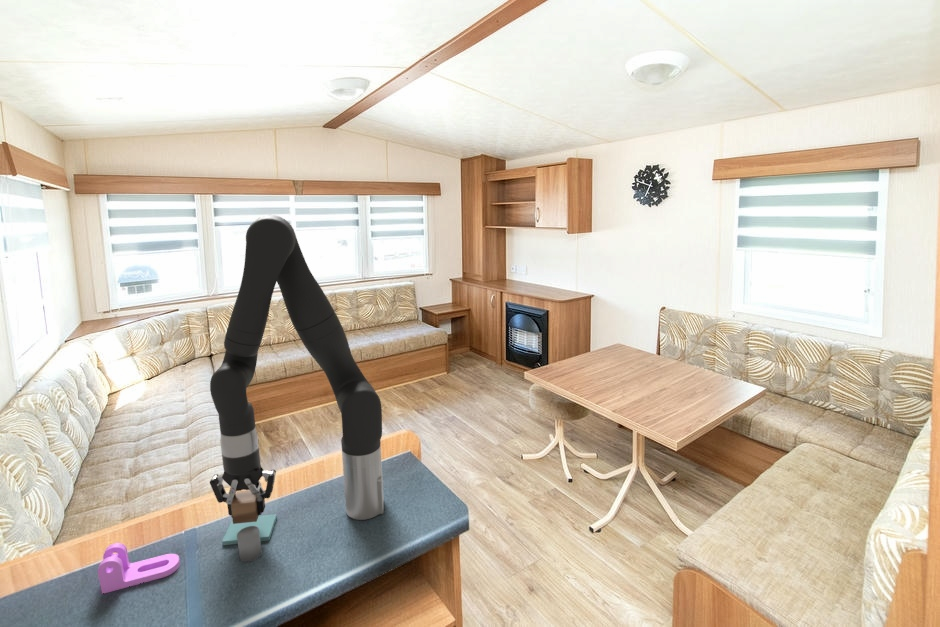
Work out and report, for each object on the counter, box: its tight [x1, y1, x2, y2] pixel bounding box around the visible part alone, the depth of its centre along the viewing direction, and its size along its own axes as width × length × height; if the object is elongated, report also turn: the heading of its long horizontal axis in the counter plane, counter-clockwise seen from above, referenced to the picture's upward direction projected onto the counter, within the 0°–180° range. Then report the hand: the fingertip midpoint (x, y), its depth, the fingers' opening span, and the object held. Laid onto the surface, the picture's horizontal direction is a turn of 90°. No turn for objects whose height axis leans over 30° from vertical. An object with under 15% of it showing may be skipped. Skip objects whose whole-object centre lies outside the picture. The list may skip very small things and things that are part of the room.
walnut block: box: [231, 490, 260, 524], centre depth 111 cm, size 5×5×5 cm
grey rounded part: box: [237, 526, 263, 563], centre depth 105 cm, size 4×4×6 cm
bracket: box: [97, 542, 181, 595], centre depth 99 cm, size 13×6×7 cm, turn 114°
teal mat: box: [221, 513, 278, 546], centre depth 112 cm, size 10×8×1 cm
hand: (247, 514), depth 111 cm, fingers closed on walnut block, 5 cm apart
